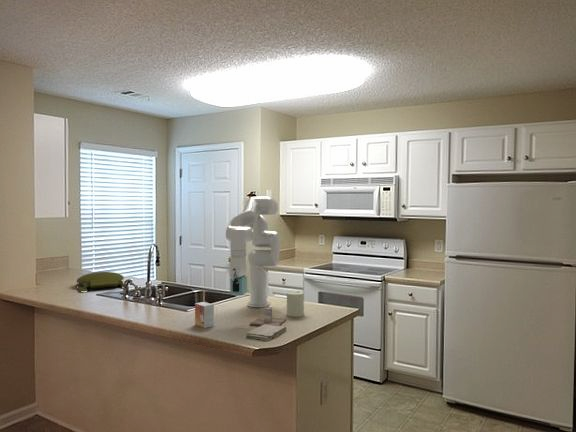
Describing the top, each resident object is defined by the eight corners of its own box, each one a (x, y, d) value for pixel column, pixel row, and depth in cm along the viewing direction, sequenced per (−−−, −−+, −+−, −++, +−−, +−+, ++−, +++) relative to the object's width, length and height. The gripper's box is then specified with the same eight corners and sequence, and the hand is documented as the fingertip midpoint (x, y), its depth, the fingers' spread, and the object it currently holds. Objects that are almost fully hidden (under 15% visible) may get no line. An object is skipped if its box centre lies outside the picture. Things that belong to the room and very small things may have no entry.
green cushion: (129, 288, 310) (129, 274, 310) (80, 294, 294) (79, 278, 294) (119, 281, 340) (119, 268, 340) (74, 285, 324) (73, 271, 324)
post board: (259, 318, 230) (259, 303, 230) (285, 320, 226) (285, 305, 226) (249, 325, 218) (249, 310, 217) (277, 327, 214) (277, 312, 213)
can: (307, 313, 240) (307, 291, 239) (298, 317, 232) (298, 294, 231) (292, 311, 244) (292, 289, 244) (283, 315, 236) (283, 292, 236)
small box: (194, 325, 219) (194, 303, 219) (204, 322, 223) (204, 301, 223) (204, 328, 214) (204, 306, 213) (214, 326, 217) (213, 304, 217)
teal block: (235, 291, 226) (235, 275, 226) (247, 292, 225) (246, 276, 224) (230, 294, 220) (230, 278, 220) (242, 294, 219) (241, 278, 218)
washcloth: (244, 339, 198) (244, 332, 198) (264, 328, 215) (264, 321, 215) (268, 342, 193) (268, 335, 193) (286, 331, 210) (286, 324, 209)
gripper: (238, 251, 231) (238, 286, 232) (223, 255, 214) (224, 293, 215) (252, 251, 229) (252, 287, 230) (238, 256, 212) (238, 294, 213)
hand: (238, 289), depth 222 cm, fingers closed on teal block, 6 cm apart
